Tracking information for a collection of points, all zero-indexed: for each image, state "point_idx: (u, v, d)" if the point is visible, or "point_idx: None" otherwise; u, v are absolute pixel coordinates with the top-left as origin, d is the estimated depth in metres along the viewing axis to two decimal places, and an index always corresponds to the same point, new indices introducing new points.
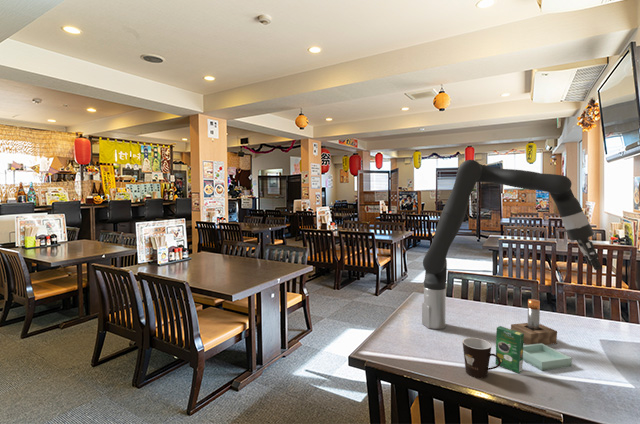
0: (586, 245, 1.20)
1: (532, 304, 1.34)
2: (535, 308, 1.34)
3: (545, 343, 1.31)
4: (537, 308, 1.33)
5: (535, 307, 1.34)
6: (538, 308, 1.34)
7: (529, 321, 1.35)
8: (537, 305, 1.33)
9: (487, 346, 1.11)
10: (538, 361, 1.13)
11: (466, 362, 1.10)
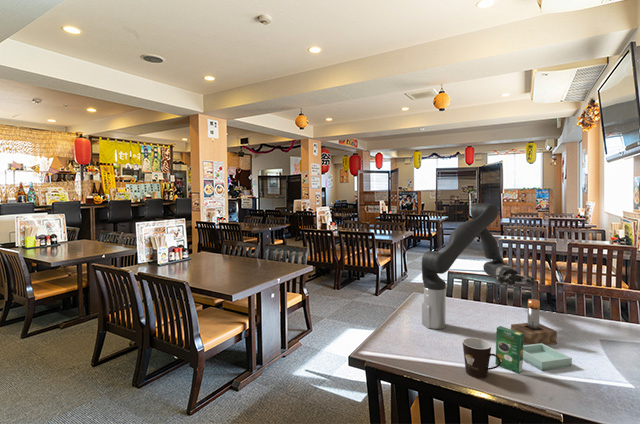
0: None
1: (532, 304, 1.34)
2: (535, 308, 1.34)
3: (545, 343, 1.31)
4: (537, 308, 1.34)
5: (535, 307, 1.34)
6: (538, 308, 1.34)
7: (529, 321, 1.35)
8: (537, 305, 1.33)
9: (487, 346, 1.11)
10: (538, 361, 1.13)
11: (466, 362, 1.10)
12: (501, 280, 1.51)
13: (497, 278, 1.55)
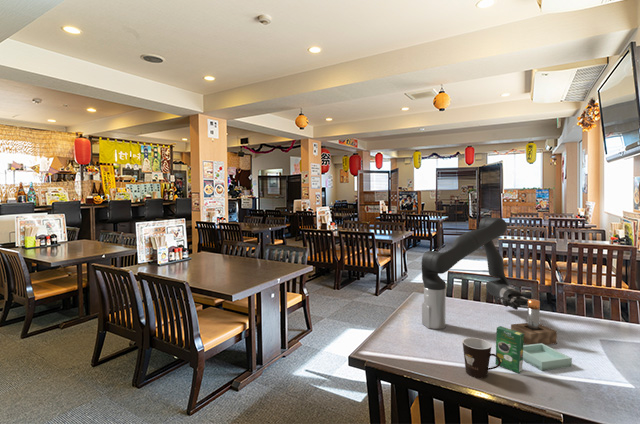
0: None
1: (532, 304, 1.34)
2: (535, 308, 1.34)
3: (545, 343, 1.31)
4: (537, 308, 1.34)
5: (535, 307, 1.34)
6: (538, 308, 1.34)
7: (529, 321, 1.35)
8: (537, 305, 1.33)
9: (487, 346, 1.11)
10: (538, 361, 1.13)
11: (466, 362, 1.10)
12: (506, 303, 1.46)
13: (502, 301, 1.50)
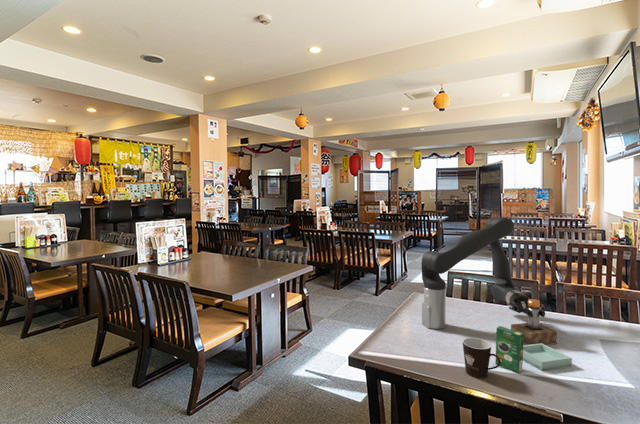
0: None
1: (532, 304, 1.34)
2: (535, 308, 1.34)
3: (545, 343, 1.31)
4: (537, 308, 1.34)
5: (535, 307, 1.34)
6: (538, 308, 1.34)
7: (529, 321, 1.35)
8: (537, 305, 1.33)
9: (487, 346, 1.11)
10: (538, 361, 1.13)
11: (466, 362, 1.10)
12: (519, 309, 1.38)
13: (511, 307, 1.42)
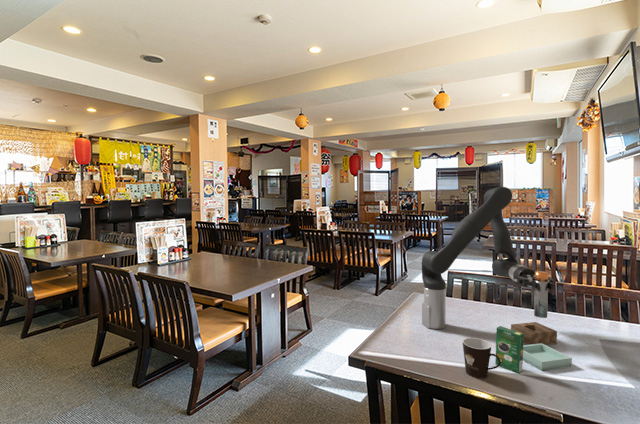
0: None
1: (540, 276, 1.21)
2: (543, 280, 1.20)
3: (545, 343, 1.31)
4: (545, 280, 1.20)
5: (543, 279, 1.20)
6: (546, 280, 1.20)
7: (536, 295, 1.22)
8: (545, 277, 1.20)
9: (487, 346, 1.11)
10: (538, 361, 1.13)
11: (466, 362, 1.10)
12: (525, 283, 1.24)
13: (516, 280, 1.28)
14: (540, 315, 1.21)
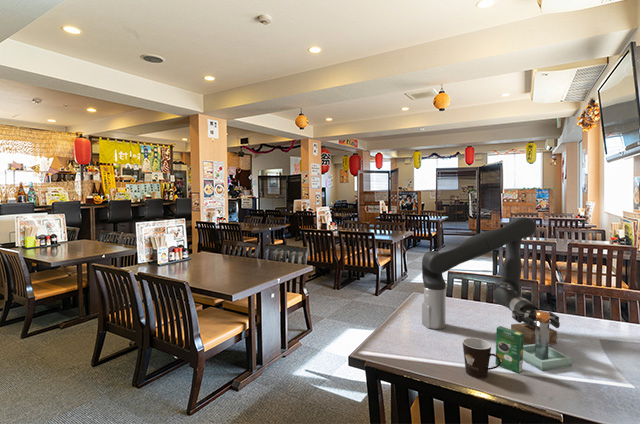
0: None
1: (541, 317, 1.17)
2: (544, 321, 1.17)
3: None
4: (547, 321, 1.17)
5: (544, 320, 1.17)
6: (548, 321, 1.17)
7: (537, 336, 1.18)
8: (547, 318, 1.16)
9: (487, 346, 1.11)
10: (538, 361, 1.13)
11: (466, 362, 1.10)
12: (520, 319, 1.22)
13: (513, 315, 1.26)
14: (541, 357, 1.18)
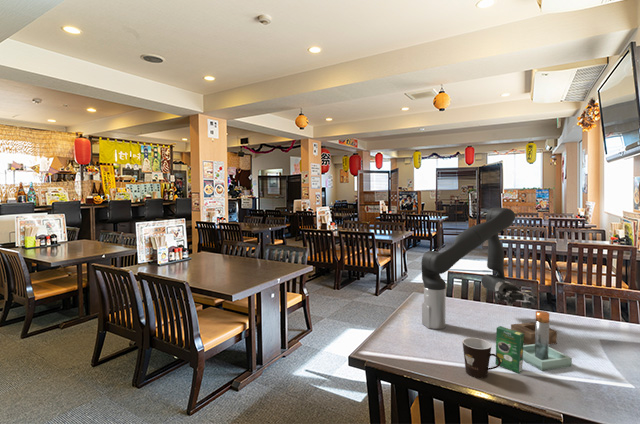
0: None
1: (541, 317, 1.17)
2: (544, 321, 1.17)
3: None
4: (546, 321, 1.17)
5: (544, 320, 1.17)
6: (547, 321, 1.17)
7: (537, 336, 1.18)
8: (546, 318, 1.17)
9: (487, 346, 1.11)
10: (538, 361, 1.13)
11: (466, 362, 1.10)
12: (501, 297, 1.37)
13: (496, 295, 1.41)
14: (541, 357, 1.18)
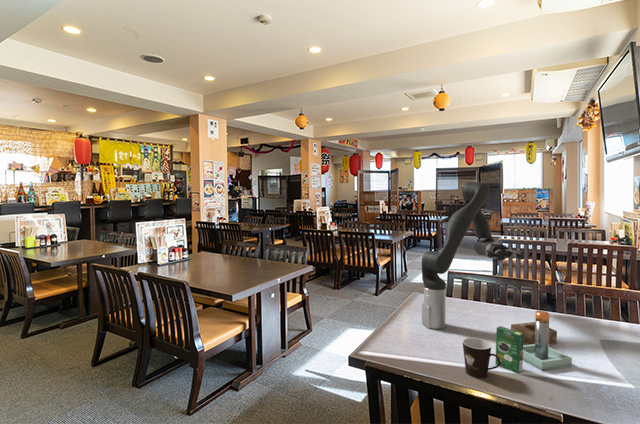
0: None
1: (541, 317, 1.17)
2: (544, 321, 1.17)
3: None
4: (546, 321, 1.17)
5: (544, 320, 1.17)
6: (547, 321, 1.17)
7: (537, 336, 1.18)
8: (546, 318, 1.17)
9: (487, 346, 1.11)
10: (538, 361, 1.13)
11: (466, 362, 1.10)
12: (490, 255, 1.48)
13: (486, 253, 1.53)
14: (541, 357, 1.18)
